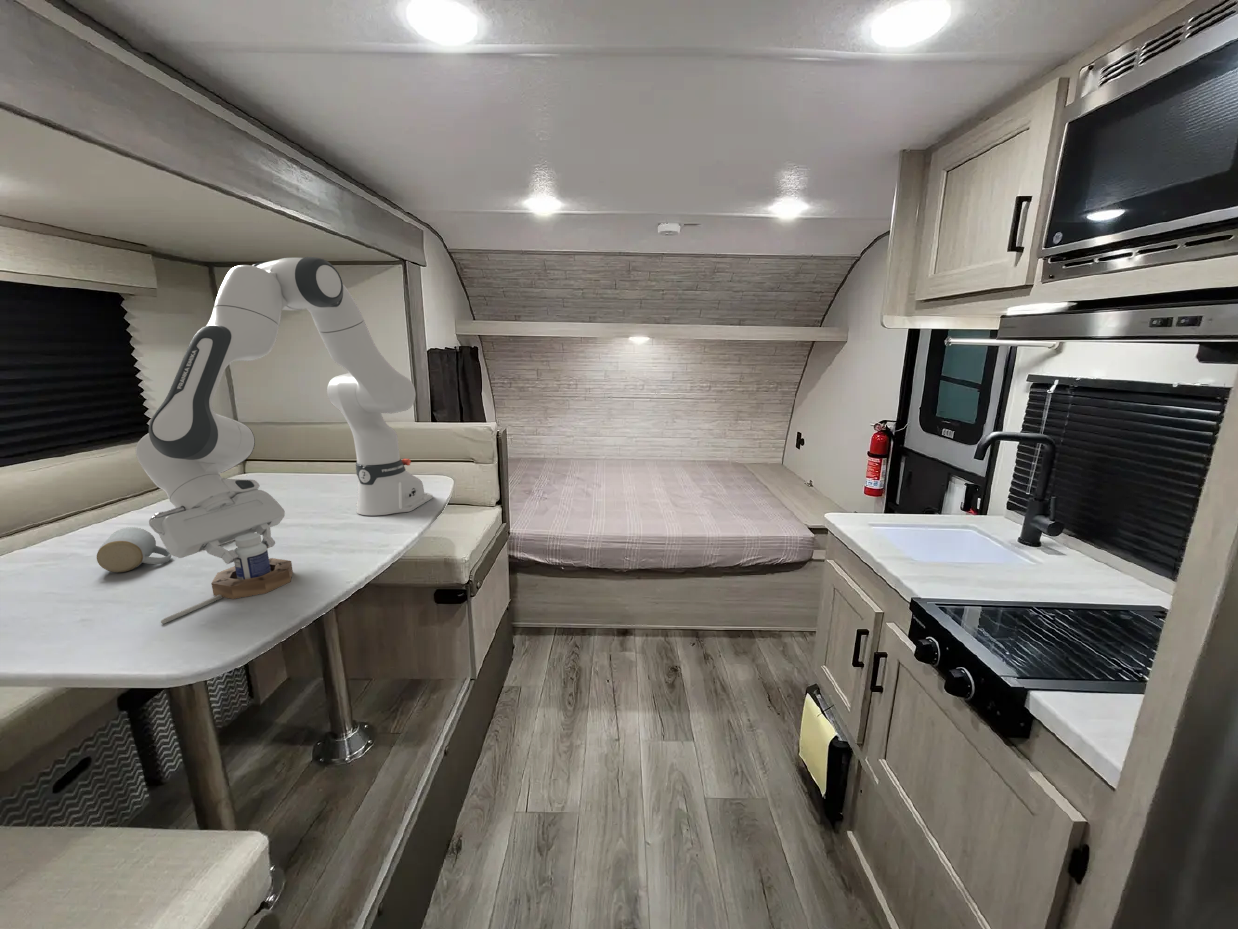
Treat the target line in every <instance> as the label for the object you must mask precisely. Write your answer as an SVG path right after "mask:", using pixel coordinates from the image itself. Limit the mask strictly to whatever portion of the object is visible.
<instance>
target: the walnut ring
mask: <svg viewBox="0 0 1238 929" xmlns="http://www.w3.org/2000/svg"><path fill="white" fill-rule="evenodd" d="M269 562H270V568H271V572H269V573H267V574H265V575H262V576H260V577H255V578H249V579H244V580H238V579H237V575H236V569H235V565H234V566H232V567H229V568H226V569H223V570H222V571H219V572H216V574H215V576H214V578H213V580H212V581H211V590H212V594H213V596H214V595H215V596H217V595H221V596H222V598H225V599H231V600H236V598H237V599H242V598H249V597H252V595H253V596H257V595H258V594H259V595H263V594H268V593H269V592H272V591H274V590H276V589H278V588H279V587H282V586H285V585H287V584H289V583H291V581H292V578H291V577H293V573H294V571H293V564H292V560H287V559H283V558H276V557H275V558H274V557H271V558H270V557H269ZM215 596H214V597H215ZM241 597H242V598H241Z"/></svg>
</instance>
